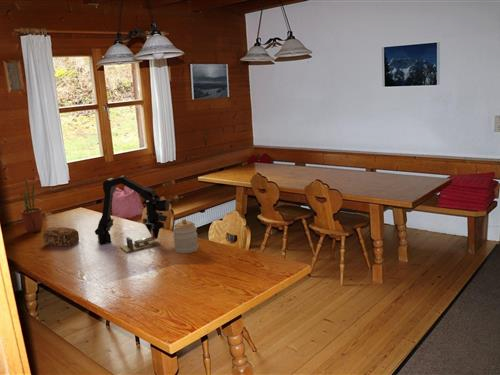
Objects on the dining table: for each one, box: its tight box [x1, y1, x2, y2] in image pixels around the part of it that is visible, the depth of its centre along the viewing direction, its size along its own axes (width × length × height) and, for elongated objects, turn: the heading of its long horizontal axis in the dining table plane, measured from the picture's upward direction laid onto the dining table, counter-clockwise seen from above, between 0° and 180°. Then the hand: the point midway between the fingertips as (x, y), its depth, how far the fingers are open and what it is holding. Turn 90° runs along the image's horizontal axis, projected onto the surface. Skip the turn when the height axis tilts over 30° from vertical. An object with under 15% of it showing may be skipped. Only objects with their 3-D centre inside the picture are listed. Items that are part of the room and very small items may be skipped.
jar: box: [172, 218, 199, 254], centre depth 265 cm, size 13×13×18 cm
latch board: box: [120, 236, 162, 254], centre depth 276 cm, size 20×11×6 cm, turn 122°
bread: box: [42, 226, 80, 247], centre depth 293 cm, size 19×11×10 cm, turn 72°
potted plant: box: [19, 179, 44, 234], centre depth 320 cm, size 17×16×35 cm
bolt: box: [133, 230, 158, 244], centre depth 278 cm, size 13×3×6 cm, turn 122°
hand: (154, 236), depth 281 cm, fingers open, 6 cm apart
